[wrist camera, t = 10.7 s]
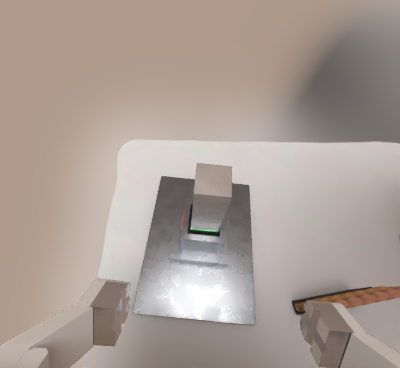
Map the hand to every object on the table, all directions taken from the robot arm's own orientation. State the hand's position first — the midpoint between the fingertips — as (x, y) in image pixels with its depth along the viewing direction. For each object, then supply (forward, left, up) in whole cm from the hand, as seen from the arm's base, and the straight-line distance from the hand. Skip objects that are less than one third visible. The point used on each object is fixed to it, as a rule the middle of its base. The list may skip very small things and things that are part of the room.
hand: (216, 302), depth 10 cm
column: (-9, -6, -21) cm, 23 cm away
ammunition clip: (-13, +16, -27) cm, 34 cm away
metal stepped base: (-9, -6, -27) cm, 29 cm away
